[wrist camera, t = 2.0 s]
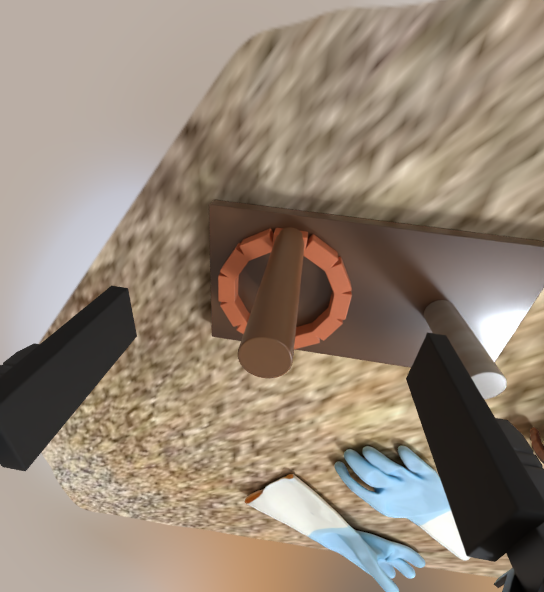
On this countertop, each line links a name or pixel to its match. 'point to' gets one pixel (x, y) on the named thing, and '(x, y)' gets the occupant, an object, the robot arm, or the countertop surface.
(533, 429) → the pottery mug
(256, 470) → the countertop surface
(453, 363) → the robot arm
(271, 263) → the ring
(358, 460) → the rubber gloves
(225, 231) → the rack
